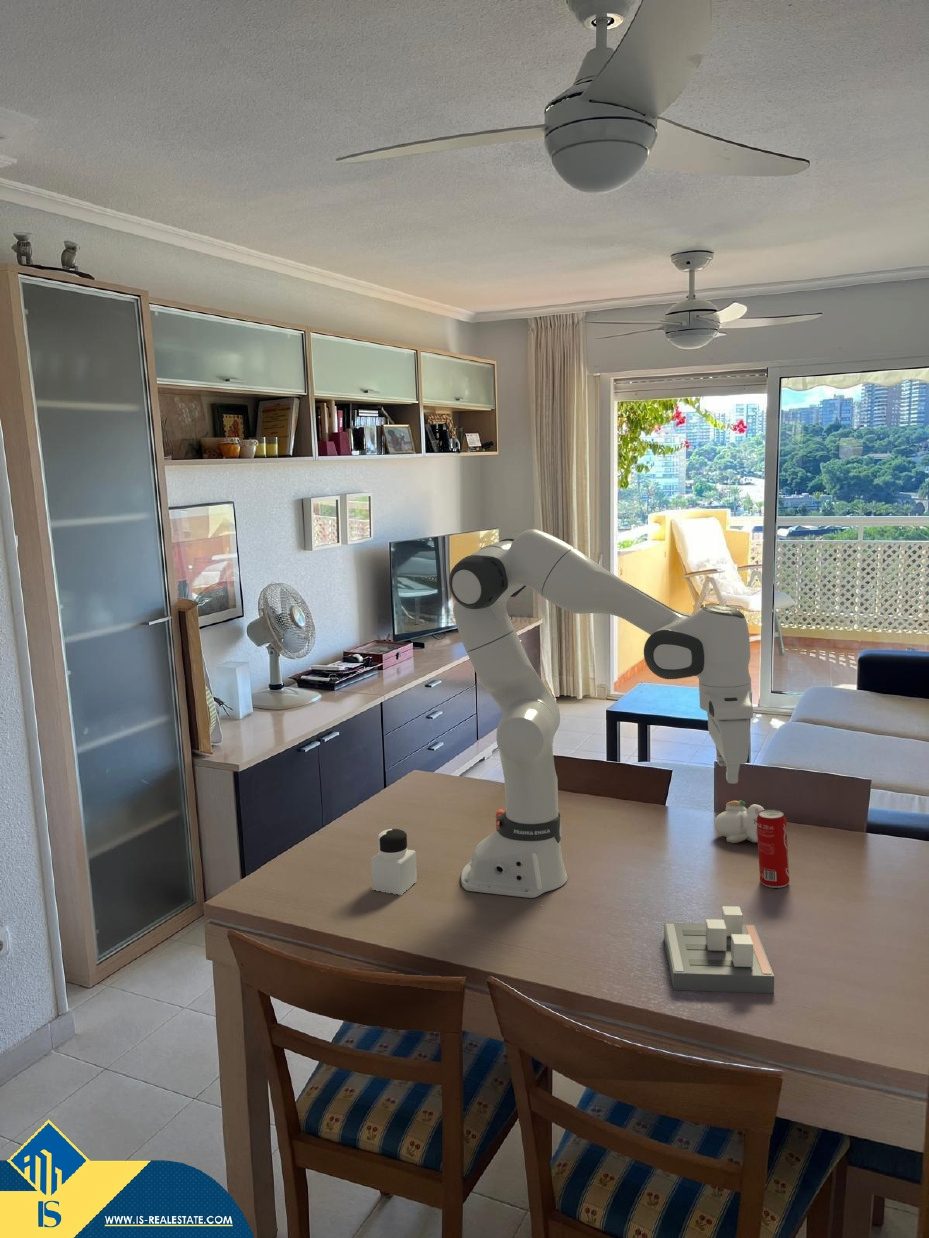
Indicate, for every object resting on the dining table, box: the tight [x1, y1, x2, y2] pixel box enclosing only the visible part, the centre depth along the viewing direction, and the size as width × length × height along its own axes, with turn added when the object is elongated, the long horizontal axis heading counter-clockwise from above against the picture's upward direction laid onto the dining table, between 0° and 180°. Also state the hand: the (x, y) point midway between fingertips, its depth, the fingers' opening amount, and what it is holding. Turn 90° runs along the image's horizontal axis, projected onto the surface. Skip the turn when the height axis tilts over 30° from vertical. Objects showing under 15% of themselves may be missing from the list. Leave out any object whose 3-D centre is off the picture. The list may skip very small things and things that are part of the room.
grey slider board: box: [663, 922, 775, 994], centre depth 157 cm, size 16×17×3 cm
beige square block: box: [705, 918, 726, 951], centre depth 157 cm, size 3×3×4 cm
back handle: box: [721, 905, 743, 936], centre depth 161 cm, size 3×3×4 cm
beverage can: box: [756, 808, 790, 889], centre depth 186 cm, size 6×6×15 cm
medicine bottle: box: [370, 828, 418, 896], centre depth 191 cm, size 7×7×12 cm
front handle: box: [731, 934, 753, 967], centre depth 151 cm, size 3×3×4 cm
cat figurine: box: [713, 800, 766, 844], centre depth 209 cm, size 10×8×15 cm
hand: (727, 773), depth 162 cm, fingers open, 8 cm apart
